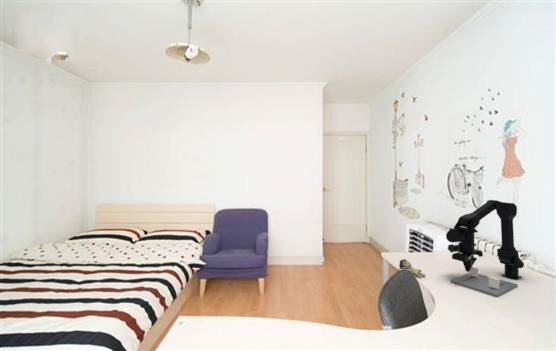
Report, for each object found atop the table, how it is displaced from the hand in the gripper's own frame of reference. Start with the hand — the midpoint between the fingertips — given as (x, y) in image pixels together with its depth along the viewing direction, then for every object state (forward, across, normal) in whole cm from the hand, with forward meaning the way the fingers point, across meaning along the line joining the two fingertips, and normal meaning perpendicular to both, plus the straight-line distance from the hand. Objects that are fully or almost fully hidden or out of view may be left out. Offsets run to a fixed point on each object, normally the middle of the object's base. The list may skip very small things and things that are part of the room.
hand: (467, 271), depth 141 cm
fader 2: (+3, +2, +12) cm, 13 cm away
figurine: (+6, +14, -22) cm, 27 cm away
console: (+5, -2, +6) cm, 8 cm away
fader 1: (+4, -6, 0) cm, 7 cm away
